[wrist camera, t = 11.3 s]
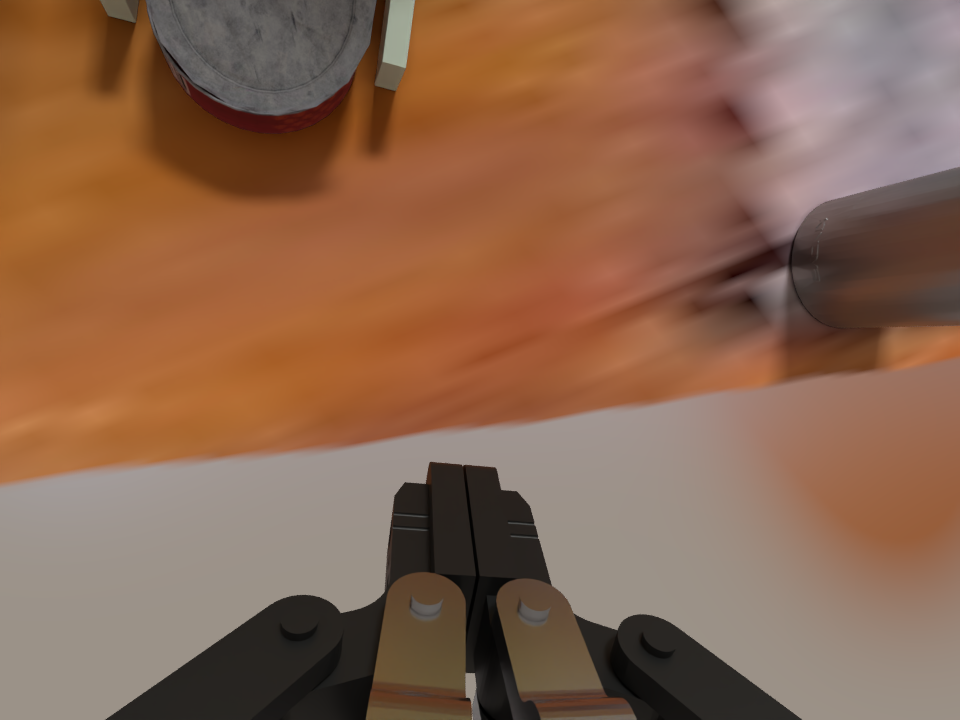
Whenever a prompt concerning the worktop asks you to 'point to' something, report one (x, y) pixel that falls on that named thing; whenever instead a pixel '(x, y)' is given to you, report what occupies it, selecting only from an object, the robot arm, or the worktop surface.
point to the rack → (393, 43)
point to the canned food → (264, 56)
